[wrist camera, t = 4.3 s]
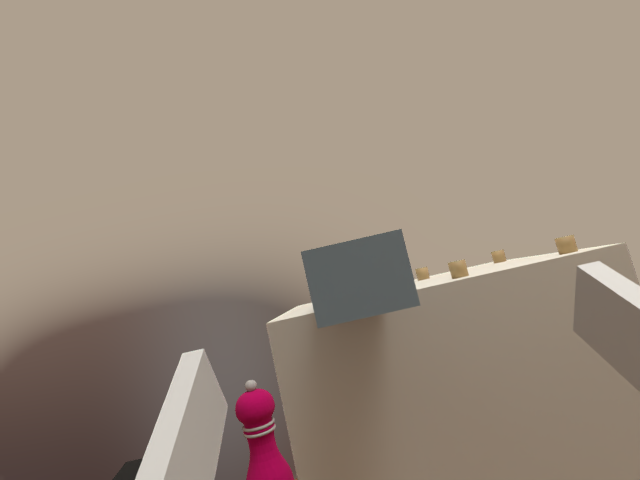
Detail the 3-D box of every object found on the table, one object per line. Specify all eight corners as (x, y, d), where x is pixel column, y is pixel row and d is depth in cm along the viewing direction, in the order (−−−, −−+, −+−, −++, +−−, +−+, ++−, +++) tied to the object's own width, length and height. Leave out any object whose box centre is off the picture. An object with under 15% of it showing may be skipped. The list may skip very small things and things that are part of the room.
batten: (420, 305, 15) (401, 228, 15) (317, 328, 15) (300, 251, 15) (365, 292, 43) (359, 264, 43) (329, 300, 43) (323, 273, 43)
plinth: (792, 762, 22) (620, 224, 26) (373, 848, 23) (262, 305, 26) (565, 525, 44) (490, 252, 48) (354, 570, 44) (295, 296, 48)
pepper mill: (290, 495, 64) (265, 371, 67) (306, 514, 58) (278, 375, 60) (247, 515, 61) (222, 384, 64) (259, 537, 55) (231, 390, 57)
